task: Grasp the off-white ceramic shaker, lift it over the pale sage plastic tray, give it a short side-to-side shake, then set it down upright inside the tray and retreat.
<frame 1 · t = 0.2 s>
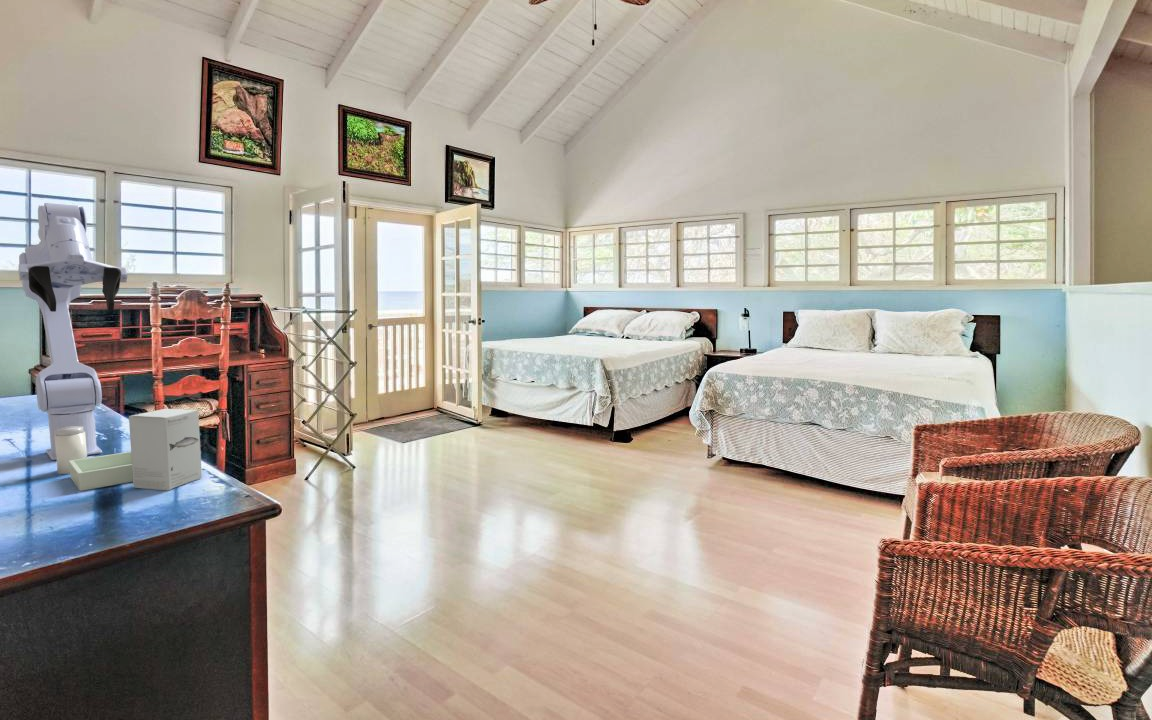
hand: (83, 307, 103), 31 cm above the table, tool tilted 45°, fingers open, 7 cm apart
shaker: (73, 470, 114), on the table
tray: (114, 477, 110), on the table
supplement box: (169, 484, 107), on the table
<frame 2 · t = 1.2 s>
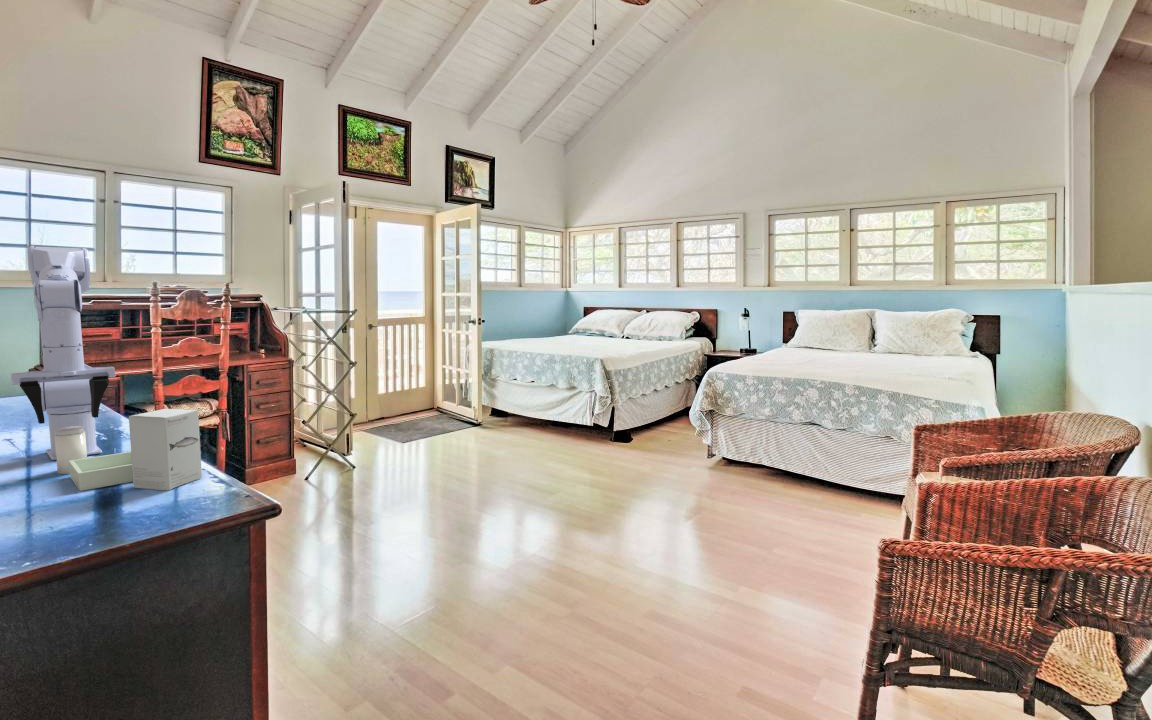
hand: (68, 419, 113), 10 cm above the table, tool pointing down, fingers open, 7 cm apart
nothing on the table moved.
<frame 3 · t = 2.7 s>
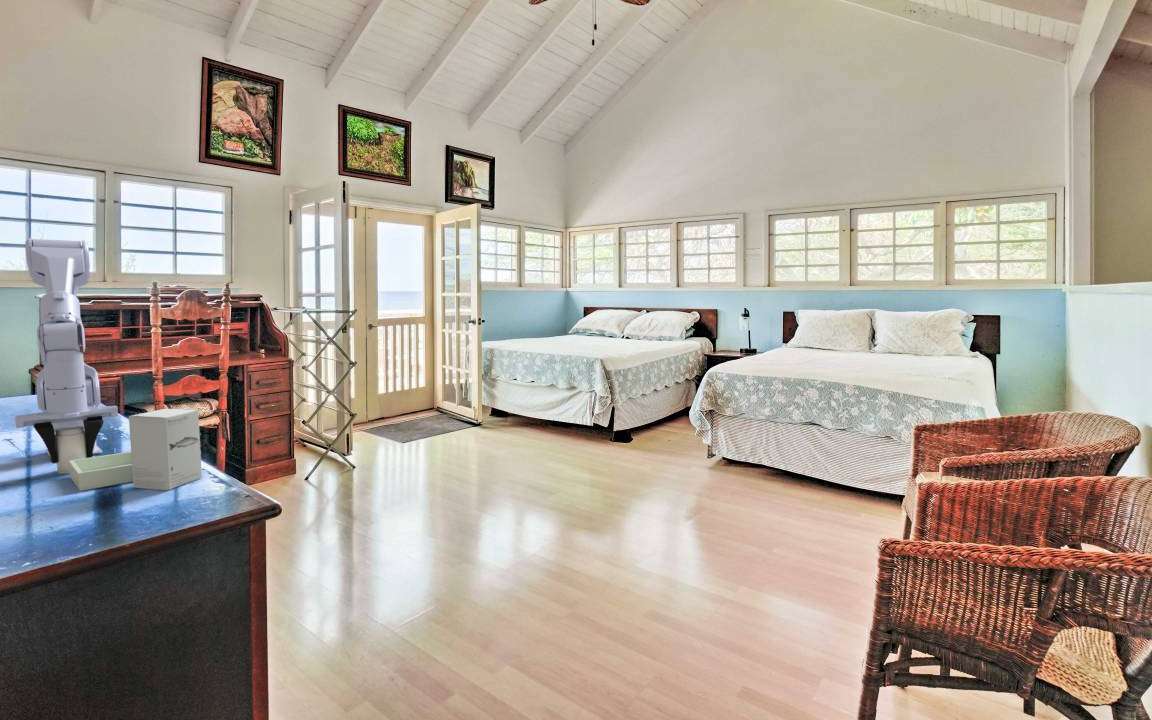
hand: (72, 459, 114), 2 cm above the table, tool pointing down, fingers closed on shaker, 4 cm apart
shaker: (73, 470, 114), on the table, touching gripper
everything else where it was.
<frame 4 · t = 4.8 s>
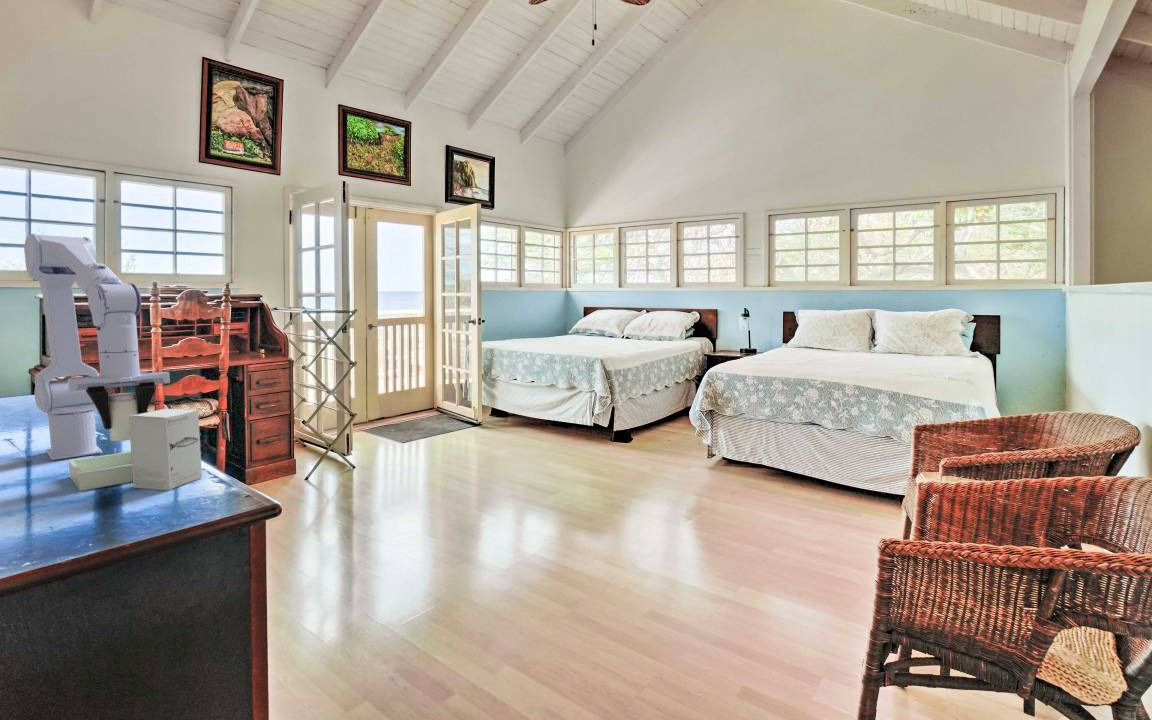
hand: (124, 426, 110), 9 cm above the table, tool pointing down, fingers closed on shaker, 4 cm apart
shaker: (125, 438, 111), point 7 cm above the table, touching gripper
everything else where it was.
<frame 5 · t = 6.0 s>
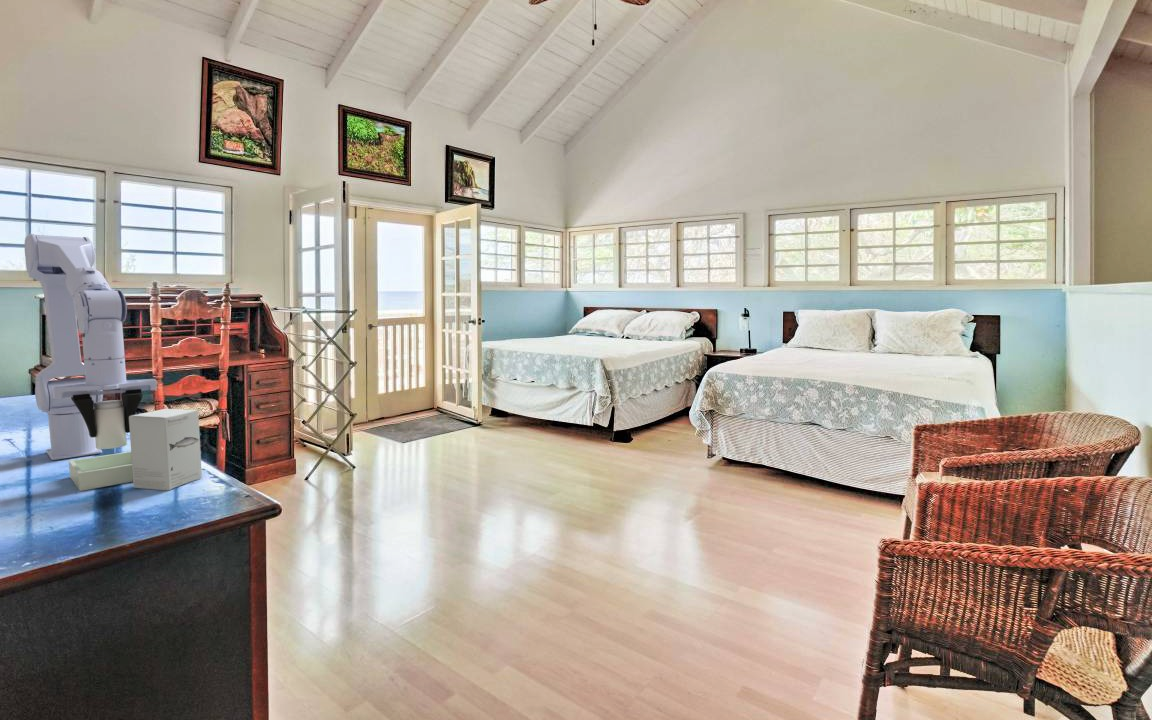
hand: (110, 434, 109), 8 cm above the table, tool pointing down, fingers closed on shaker, 4 cm apart
shaker: (111, 446, 109), point 6 cm above the table, touching gripper
everything else where it was.
when the fingers open (4 cm above the table, at t = 7.1 s): shaker drops 1 cm, resting on tray.
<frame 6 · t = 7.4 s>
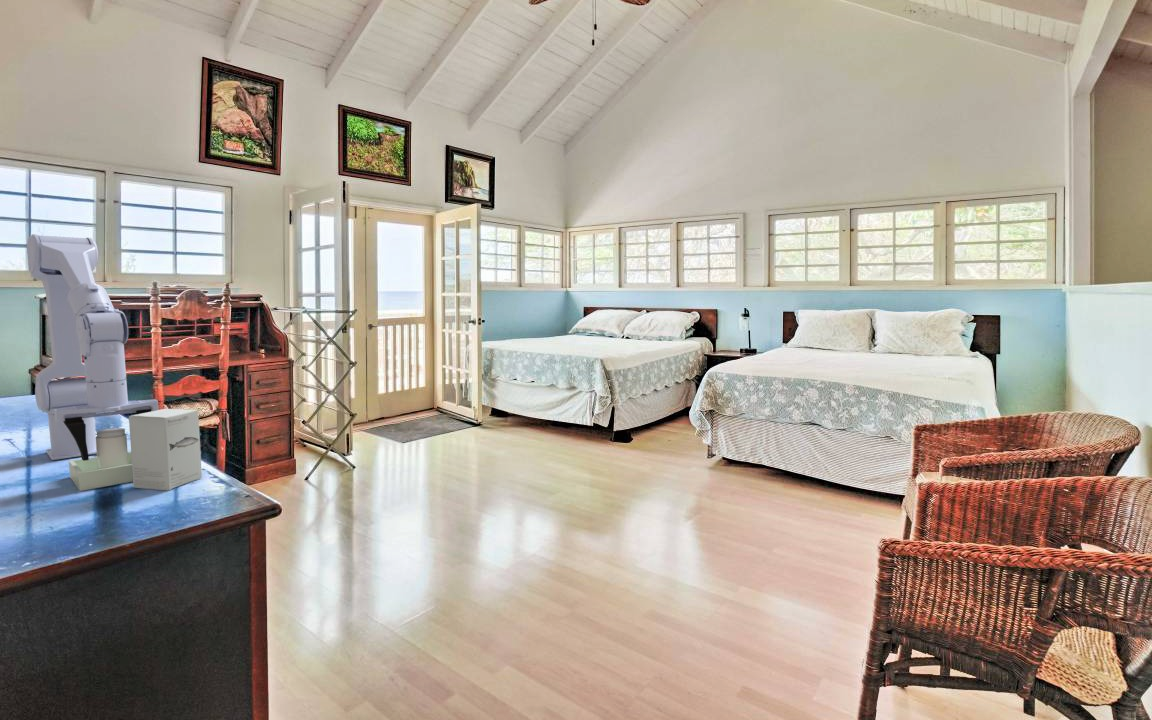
hand: (112, 455, 109), 4 cm above the table, tool pointing down, fingers open, 7 cm apart
shaker: (113, 474, 110), point 1 cm above the table, touching tray
everything else where it was.
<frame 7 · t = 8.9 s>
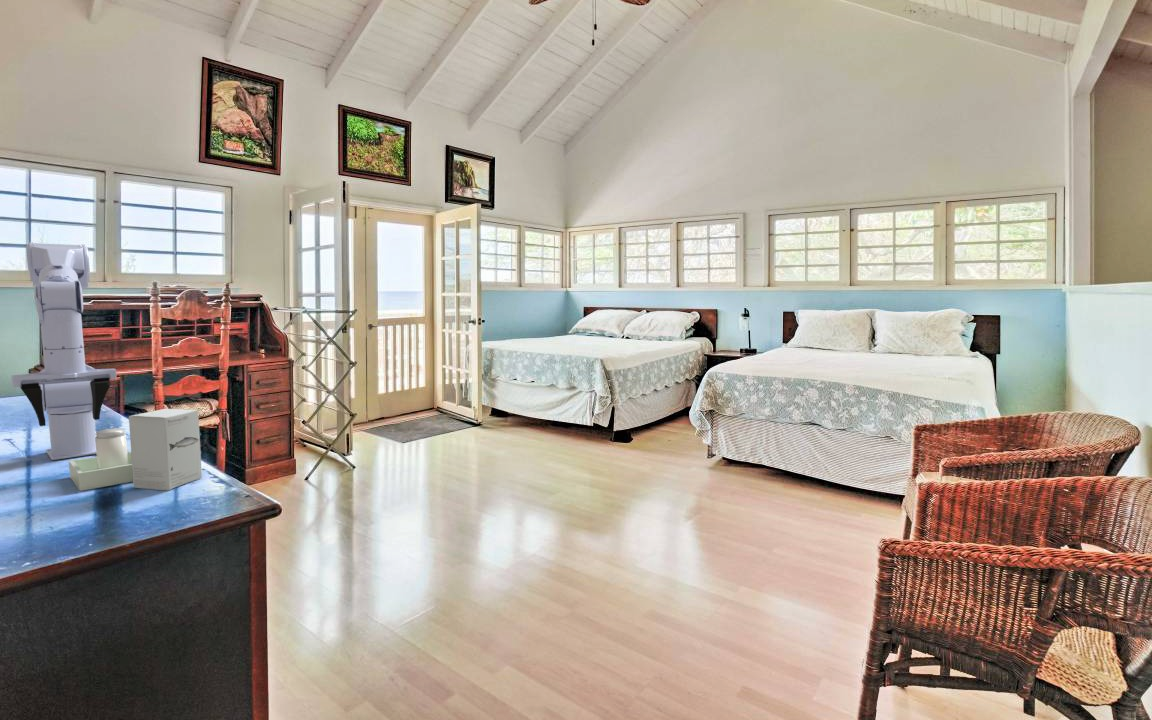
hand: (70, 421, 112), 9 cm above the table, tool pointing down, fingers open, 7 cm apart
nothing on the table moved.
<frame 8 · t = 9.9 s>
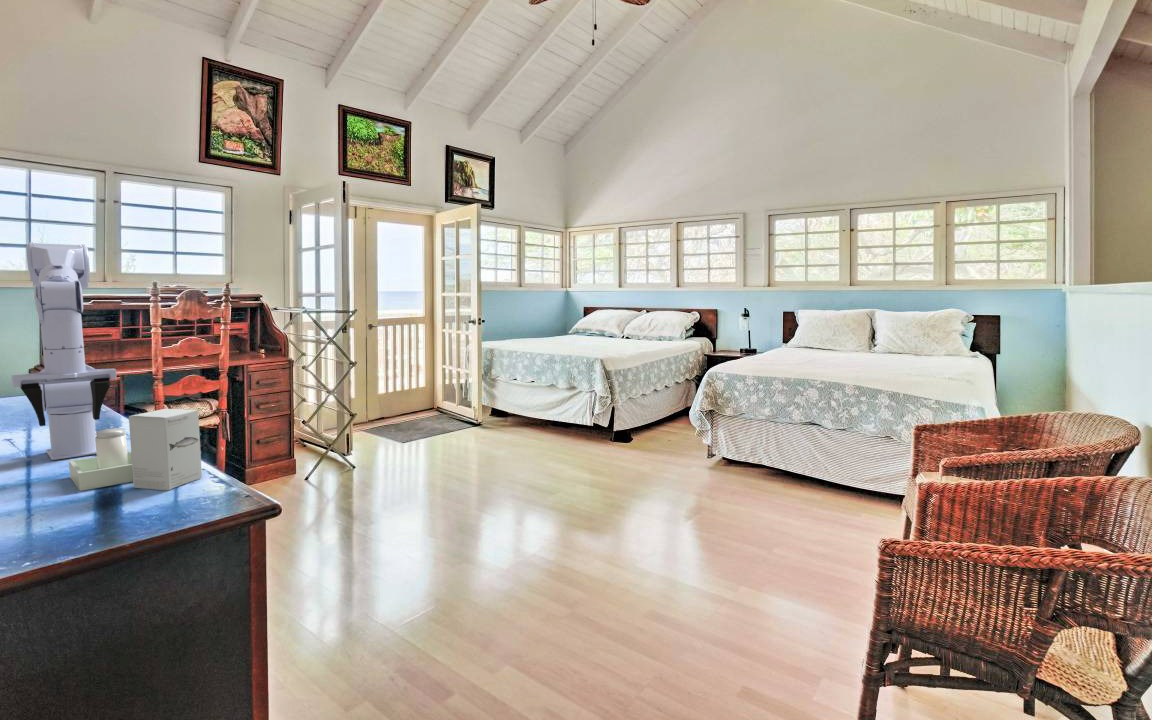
hand: (70, 421, 112), 9 cm above the table, tool pointing down, fingers open, 7 cm apart
nothing on the table moved.
at the end: shaker inside the target area on the tray (0.0 cm from its centre), point 0.5 cm above the tray's base; shaker tilted 0°; the gripper is holding nothing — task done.
